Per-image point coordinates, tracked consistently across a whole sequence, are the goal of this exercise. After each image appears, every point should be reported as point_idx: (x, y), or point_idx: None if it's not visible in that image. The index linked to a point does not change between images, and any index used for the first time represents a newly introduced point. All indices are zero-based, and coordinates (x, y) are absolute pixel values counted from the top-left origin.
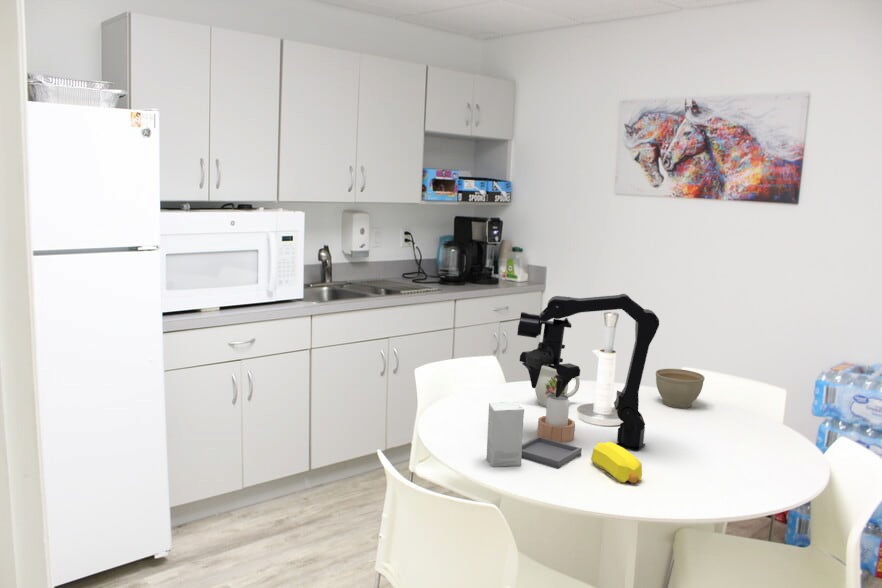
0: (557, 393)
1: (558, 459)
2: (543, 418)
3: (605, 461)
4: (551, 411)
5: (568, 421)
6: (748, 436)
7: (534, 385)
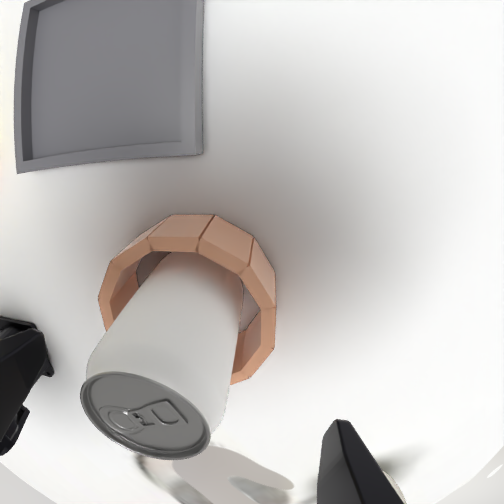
0: (1, 340)
1: (27, 14)
2: (261, 329)
3: None
4: (161, 310)
5: None
6: (18, 460)
7: (331, 448)
